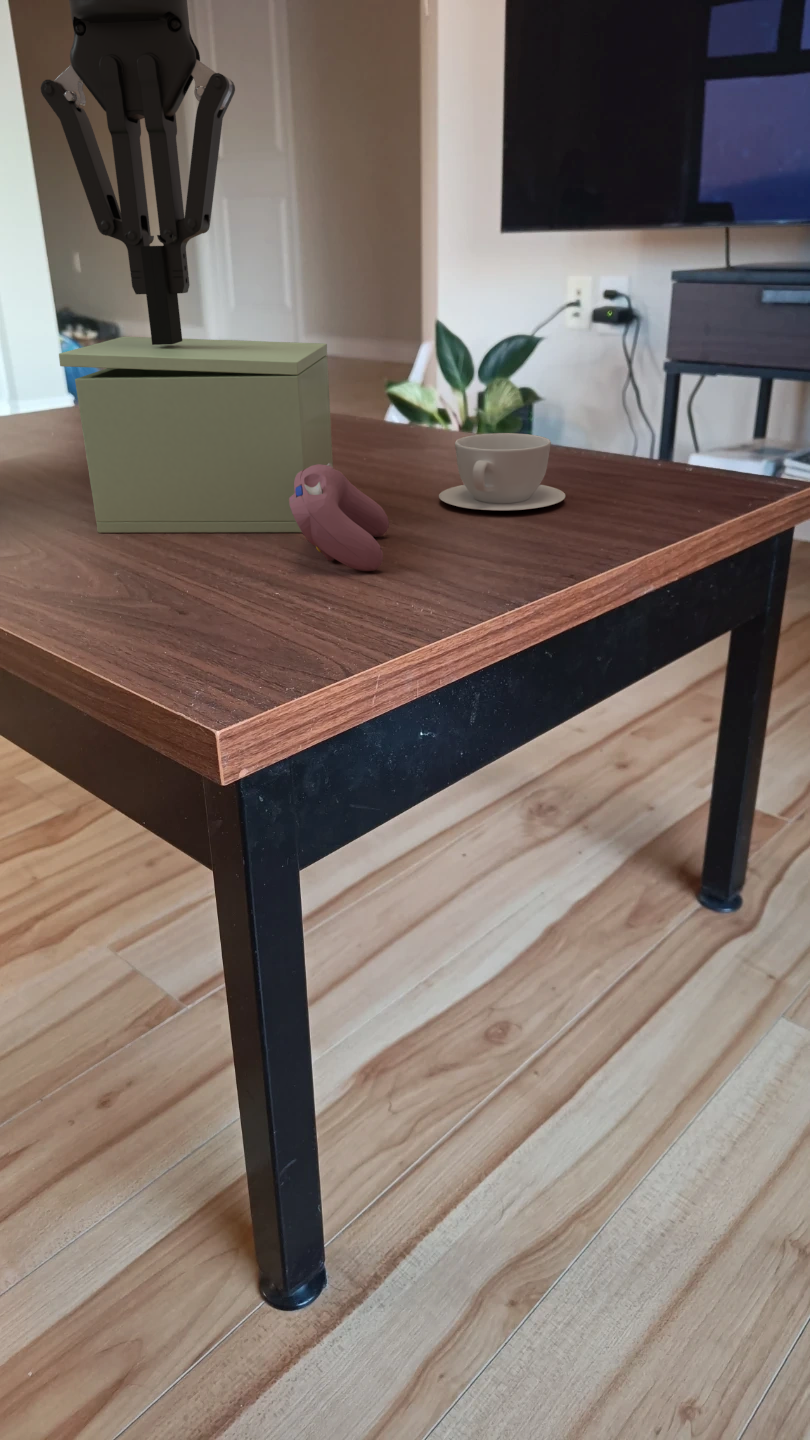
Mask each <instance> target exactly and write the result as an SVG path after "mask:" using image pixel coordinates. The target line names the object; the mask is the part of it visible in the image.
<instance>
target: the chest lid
mask: <svg viewBox="0 0 810 1440" xmlns="http://www.w3.org/2000/svg"><path fill="white" fill-rule="evenodd" d="M324 356H328V344H327V343H321V342H295V341H294V342H293V341H292V342H290V341H268V340H267V341H264V340H260V341H259V340H238V339H237V340H235V339H234V340H233V339H204V338H182V341H181V342H178V343H175V344H164V345H152V339H151V336H149V337H148V336H147V337H146V336H121V337H116V338H113V339H110V340H106V341H101V342H98V343H94V344H89V345H86V346H82V347H79V348H74V349H70V350H68V351H64V352H59V353H58V360H59V366H60V367H64V368H66V367H68V368H90V369H91V368H93V369H95V368H96V369H107V368H119V369H147V370H174V371H202V372H229V373H257V374H285V375H298V374H299V373H301V372H302V371H304V370H305V369H307V368H308V367H310V366H311V365H312V364H314V363H315V362H317V361H318V360H320V359H321V358H323V357H324Z"/></svg>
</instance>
